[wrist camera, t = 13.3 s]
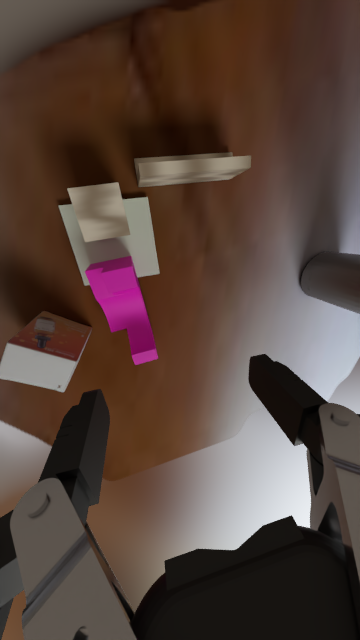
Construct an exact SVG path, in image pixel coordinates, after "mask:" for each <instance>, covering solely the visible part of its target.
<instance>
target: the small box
mask: <svg viewBox="0 0 360 640" xmlns="http://www.w3.org/2000/svg"><path fill="white" fill-rule="evenodd" d="M91 330H92V327H89V326H86V325H83V324H80V323H77V322H74V321H71V320H69V319H66V318H63V317H60V316H57V315H55V314H52V313H49V312H47V311H43V312H42V313H40V314H39V315H38V316H37V317H36V318H34V319H33V320H32V321H31V322H30V323H29V324H27V325H26V326H25V327H24V328H23V329H22V330H21V331H19V332H18V333H17V334H16V335H15V336H14V337H12V338H11V339H10V340H9V341H8V342H7V344H6V347H5V350H4V353H3V356H2V359H1V362H0V379H6V380H11V381H16V382H21V383H26V384H30V385H35V386H39V387H44V388H48V389H53V390H56V391H60V392H64V391H65V389H66V387H67V385H68V383H69V381H70V379H71V377H72V374H73V372H74V370H75V368H76V365H77V363H78V361H79V359H80V356H81V354H82V352H83V350H84V347H85V345H86V342H87V340H88V338H89V335H90V333H91Z"/></svg>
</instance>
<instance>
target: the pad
mask: <svg viewBox="0 0 360 640" xmlns="http://www.w3.org/2000/svg"><path fill="white" fill-rule="evenodd" d="M122 200H123V204H124V209H125V213H126V217H127V221H128V226H129V230H130V234H131V235H127V236H121V237H114V238H108V239H102V240H96V241H90V242H85V240H84V237H83V234H82V231H81V228H80V225H79V222H78V219H77V216H76V213H75V210H74V208H73V205H72V204H70V205H59V209H60V212H61V215H62V218H63V221H64V224H65V227H66V230H67V233H68V236H69V239H70V242H71V245H72V248H73V251H74V254H75V257H76V260H77V263H78V266H79V269H80V272H81V276H82V279H83V282H84V285H85V286H86V285H90V283H89V281H88V278H87V276H86V274H85V270H86V269H87V268H88V267H89V265H90V264H94V263H99V262H104V261H108V260H113V259H118V258H123V257H127V256H131V257H132V260H133V264H134V268H135V271H136V275H137V277H142V276H148V275H155V274H160V273H159V267H158V260H157V254H156V247H155V241H154V234H153V228H152V222H151V215H150V209H149V202H148V197H143V198H132V199H122Z"/></svg>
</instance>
